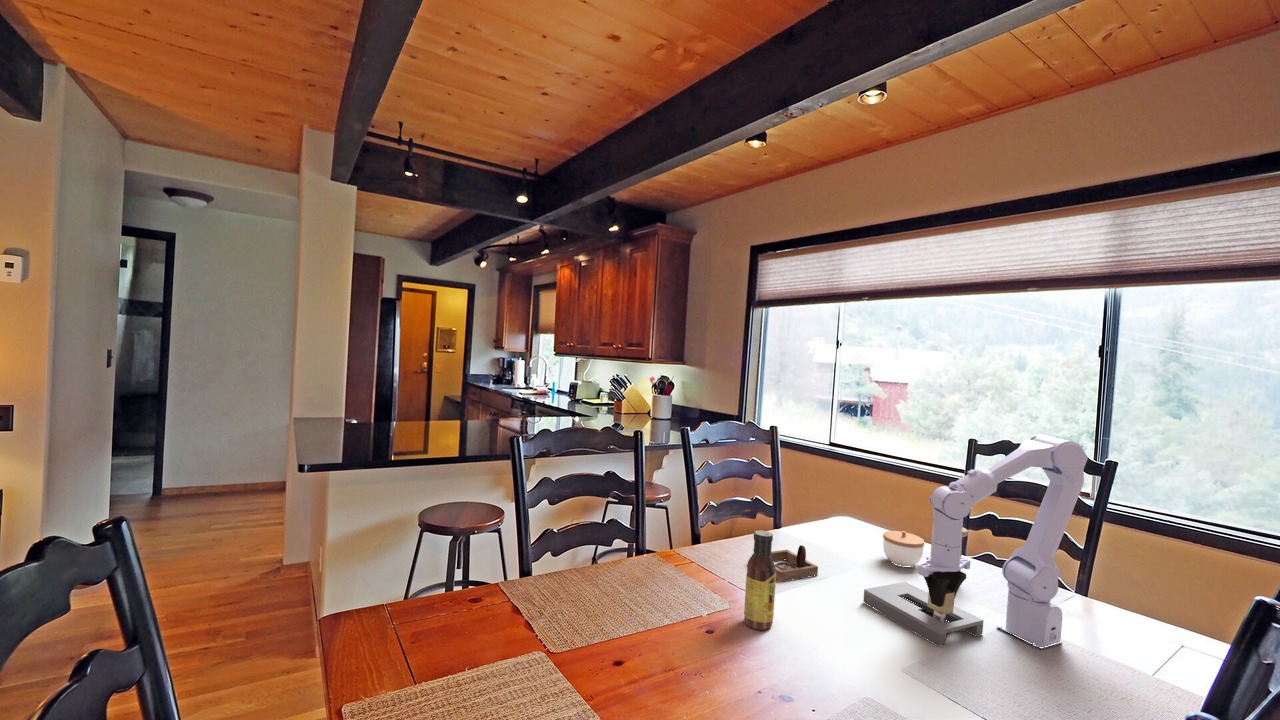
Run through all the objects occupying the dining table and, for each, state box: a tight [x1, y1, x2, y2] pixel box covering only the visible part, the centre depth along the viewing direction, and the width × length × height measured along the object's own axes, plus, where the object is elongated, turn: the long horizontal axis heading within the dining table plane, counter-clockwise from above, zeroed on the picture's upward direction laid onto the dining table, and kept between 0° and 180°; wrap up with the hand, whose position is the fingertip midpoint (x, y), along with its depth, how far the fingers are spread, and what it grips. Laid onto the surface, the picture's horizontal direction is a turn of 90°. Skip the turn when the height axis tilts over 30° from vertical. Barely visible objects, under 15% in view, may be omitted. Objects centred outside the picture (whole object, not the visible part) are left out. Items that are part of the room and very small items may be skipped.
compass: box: [774, 544, 807, 570], centre depth 148 cm, size 8×8×7 cm
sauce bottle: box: [743, 529, 777, 631], centre depth 119 cm, size 7×6×20 cm
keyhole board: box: [863, 581, 984, 647], centre depth 126 cm, size 20×14×3 cm
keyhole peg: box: [927, 588, 955, 634], centre depth 122 cm, size 5×5×8 cm
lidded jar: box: [882, 530, 925, 567], centre depth 159 cm, size 11×11×9 cm
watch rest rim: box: [751, 549, 819, 583], centre depth 150 cm, size 12×12×2 cm
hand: (941, 603), depth 122 cm, fingers closed on keyhole peg, 3 cm apart
